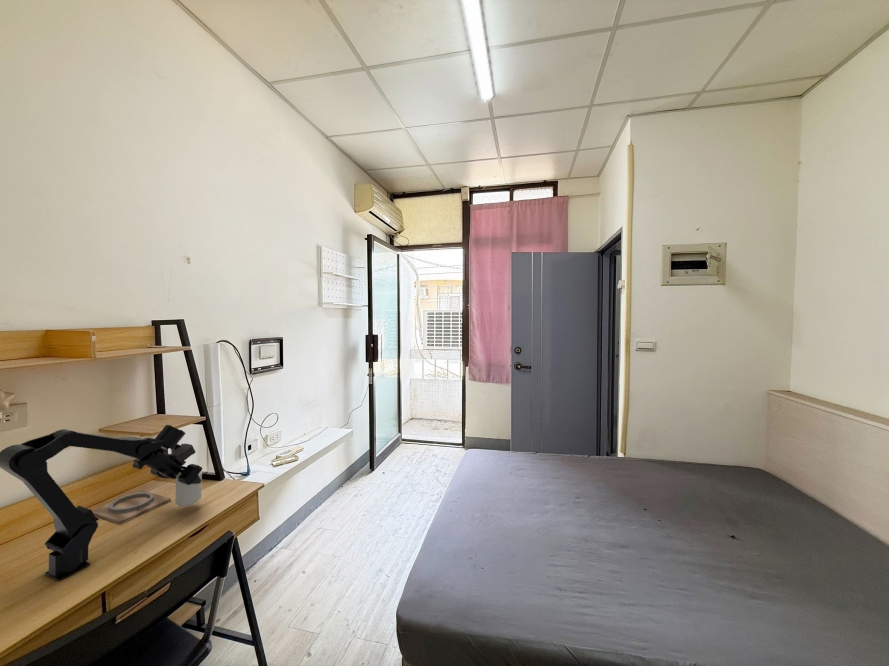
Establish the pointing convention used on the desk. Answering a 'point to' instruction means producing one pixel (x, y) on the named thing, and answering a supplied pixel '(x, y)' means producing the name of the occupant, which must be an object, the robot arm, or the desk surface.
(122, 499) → the collar board
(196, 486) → the can
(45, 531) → the desk surface
